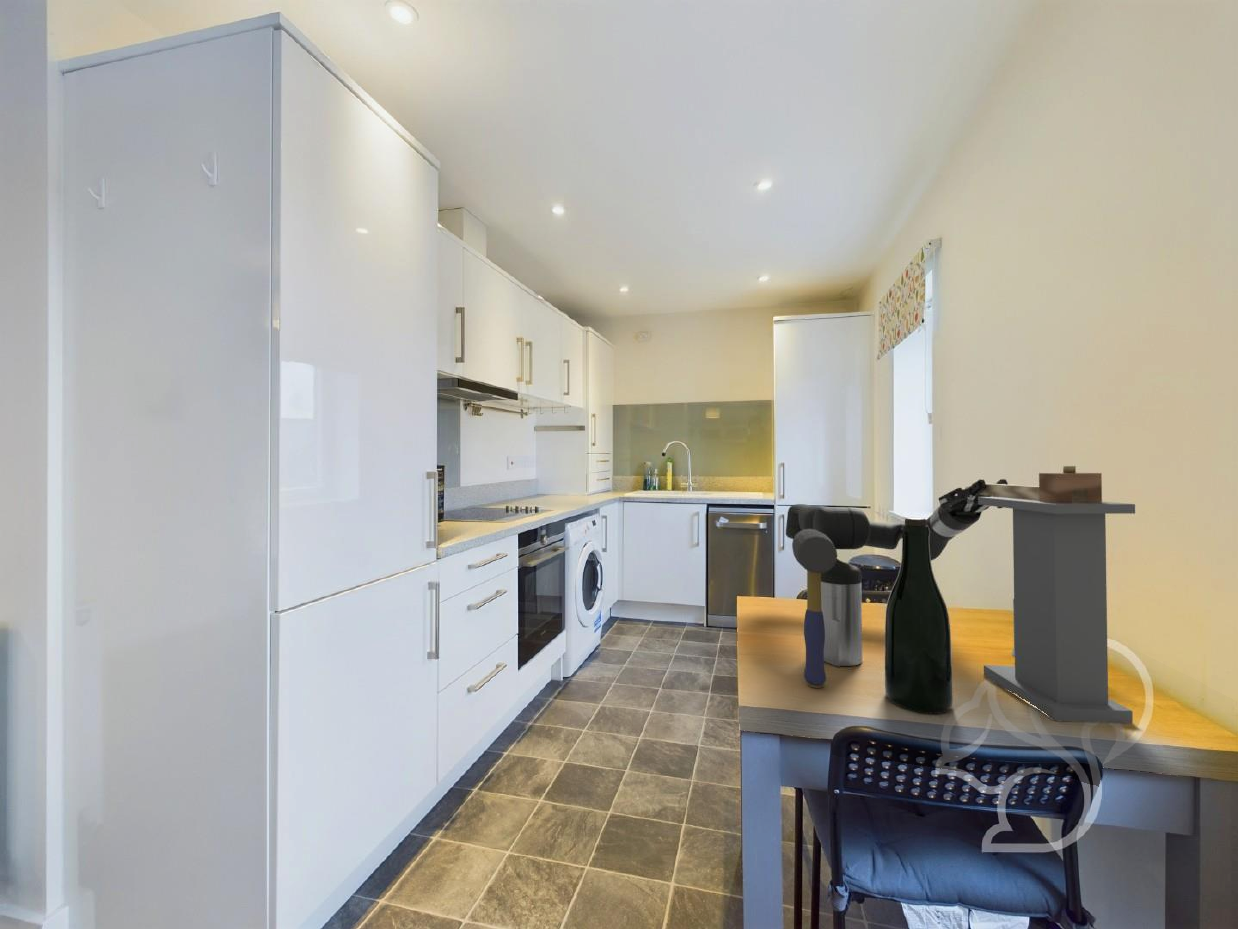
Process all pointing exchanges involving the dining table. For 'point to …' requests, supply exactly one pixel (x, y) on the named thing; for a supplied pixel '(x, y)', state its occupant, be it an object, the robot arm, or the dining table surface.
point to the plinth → (1060, 609)
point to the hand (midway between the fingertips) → (994, 483)
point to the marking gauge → (1055, 488)
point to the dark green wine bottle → (917, 630)
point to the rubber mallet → (814, 598)
